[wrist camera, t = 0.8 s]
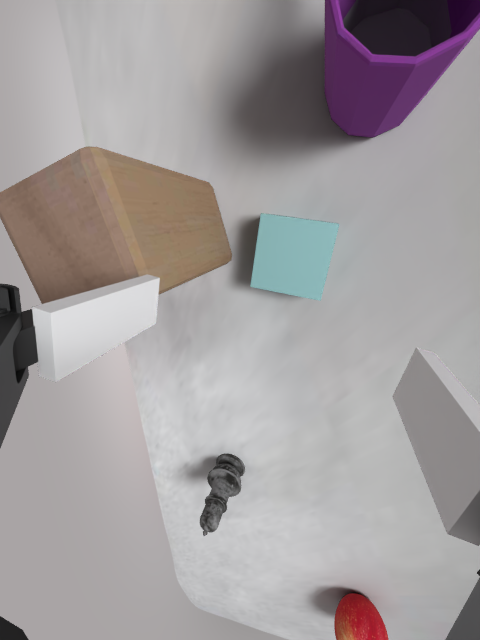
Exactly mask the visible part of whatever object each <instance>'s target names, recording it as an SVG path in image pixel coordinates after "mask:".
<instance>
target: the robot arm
mask: <svg viewBox="0 0 480 640" xmlns="http://www.w3.org/2000/svg"><path fill="white" fill-rule="evenodd" d="M159 282H160V278H159V277H155V276H151V275H148V274H147V275H144V276H140V277H137V278H133V279H129V280H126V281H122V282H119V283H115V284H112V285H108V286H105V287H101V288H98V289H94V290H90V291H87V292H83V293H80V294H76V295H73V296H69V297H66V298H62V299H58V300H55V301H51V302H48V303H44V304H41V305H37V306H34V307H32V309H30V310H27V311H23V312H21V303H20V295H19V288H17V287H16V286H12V285H8V284H0V448H1V445H2V443H3V440H4V437H5V435H6V432H7V430H8V427H9V425H10V422H11V419H12V417H13V414H14V412H15V409H16V407H17V404H18V402H19V399H20V397H21V394H22V392H23V389H24V386H25V384H26V381H27V379H28V376H29V373H28V366H30V365H32V364H34V363H36V362H38V372H39V376H40V377H43V378H45V379H48V380H50V381H53V382H58V381H59V380H61V379H63V378H64V377H66V376H68V375H69V374H71V373H73V372H74V371H76V370H78V369H80V368H81V367H83V366H84V365H86V364H88V363H90V362H92V361H93V360H95V359H97V358H98V357H100V356H102V355H103V354H105V353H107V352H108V351H110V350H112V349H114V348H115V347H117V346H119V345H120V344H122V343H124V342H126V341H127V340H129V339H131V338H132V337H134V336H136V335H137V334H139V333H141V332H143V331H144V330H146V329H148V328H149V327H151V326H153V325H154V324H156V319H157V307H158V294H159ZM393 399H394V401H395V404H396V406H397V409H398V411H399V414H400V416H401V419H402V421H403V424H404V426H405V429H406V431H407V434H408V436H409V439H410V441H411V444H412V446H413V449H414V451H415V454H416V456H417V459H418V462H419V464H420V467H421V469H422V472H423V474H424V477H425V479H426V482H427V484H428V487H429V489H430V492H431V494H432V497H433V499H434V502H435V504H436V507H437V509H438V512H439V514H440V517H441V519H442V522H443V524H444V527H445V529H446V532H447V534H449V535H452V536H454V537H457V538H460V539H462V540H465V541H467V542H470V543H472V544H475V545H478V546H479V545H480V405H479V403H478V402H477V401H476V400H475V399H474V398H473V396H472V395H471V394H470V393H469V392H468V391H467V389H466V388H465V387H464V386H463V385H462V384H461V383H460V381H459V380H458V379H457V378H456V377H455V376H454V374H453V373H452V372H451V371H450V370H449V369H448V367H447V366H446V365H445V364H444V363H443V362H442V361H441V359H440V358H439V357H438V356H437V355H436V354H435V352H431V351H428V350H424V349H420V348H417V347H416V349H415V351H414V353H413V355H412V357H411V359H410V361H409V363H408V366H407V368H406V370H405V372H404V374H403V376H402V378H401V380H400V382H399V384H398V386H397V388H396V390H395V393H394V395H393ZM477 574H478V575H479V576H480V570H479V571H478V572H477ZM0 640H28V638H27V637H26V635H25V633H24V632H23V630H22V629H20V628H18V627H17V626H15V625H14V624H12V623H10V622H9V621H7V620H5V619H4V618H2V617H0ZM446 640H480V578H479V580H478V582H477V584H476V585H475V587H474V589H473V591H472V593H471V594H470V596H469V598H468V600H467V602H466V603H465V605H464V607H463V609H462V611H461V612H460V614H459V616H458V618H457V620H456V621H455V623H454V625H453V627H452V629H451V631H450V632H449V634H448V636H447V638H446Z"/></svg>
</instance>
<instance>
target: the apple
mask: <svg viewBox="0 0 480 640" xmlns="http://www.w3.org/2000/svg"><path fill="white" fill-rule="evenodd" d="M335 635H336V640H388V635H387V631H386V628H385V625H384V622H383V620H382V618H381V616H380V614H379V612H378V610H377V609H376V607H375V606H374V605H373V603H372V602H371V601H370V600H369V599H367V598H366V597H364V596H362V595H360V594H355V593H350V594H347V595H345V596H344V597H343V598H342V599H341V601H340V603H339V604H338V607H337V610H336V614H335Z"/></svg>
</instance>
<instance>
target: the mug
mask: <svg viewBox="0 0 480 640" xmlns="http://www.w3.org/2000/svg"><path fill="white" fill-rule="evenodd" d="M479 29H480V0H325V96H326V100H327V104H328V108H329V112H330V116H331V119H332V120H333V121H334V122H335V123H336V124H337V125H338V126H339V127H340V128H341V129H343V130H344V131H345V132H346V133H347V134H348V135H354V136H364V137H375V136H377V135H379V134H382V133H384V132H386V131H388V130H390V129H393V128H395V127H397V126H399V125H400V124H401V123H402V122H403V121H404V119H405V118H406V117H407V116H408V115H409V114H410V113H411V111H412V110H413V109H414V108H415V107H416V106H417V105H418V103H419V102H420V101H421V100H422V99H423V98H424V96H425V95H426V94H427V93H428V91H429V90H430V89H431V88H432V87H433V85H434V84H435V83H436V82H437V80H438V79H439V78H440V77H441V76H442V74H443V73H444V72H445V71H446V69H447V68H448V67H449V66H450V65H451V63H452V62H453V61H454V60H455V58H456V57H457V56H458V55H459V54H460V52H461V51H462V50H463V49H464V47H465V46H466V45H467V44H468V43H469V41H470V40H471V39H472V38H473V36H474V35H475V34H476V33H477V31H478V30H479Z"/></svg>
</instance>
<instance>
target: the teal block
mask: <svg viewBox="0 0 480 640" xmlns="http://www.w3.org/2000/svg"><path fill="white" fill-rule="evenodd" d="M338 228H339V224H337V223H330V222H323V221H316V220H308V219H301V218H294V217H287V216H279V215H272V214H263V213H261V216H260V223H259V230H258V237H257V244H256V251H255V258H254V265H253V272H252V279H251V286H250V287H254V288H259V289H264V290H269V291H274V292H279V293H284V294H289V295H294V296H299V297H304V298H310V299H315V300H320V301H321V297H322V293H323V289H324V285H325V281H326V277H327V272H328V268H329V264H330V260H331V256H332V252H333V248H334V244H335V240H336V236H337V232H338Z"/></svg>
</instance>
